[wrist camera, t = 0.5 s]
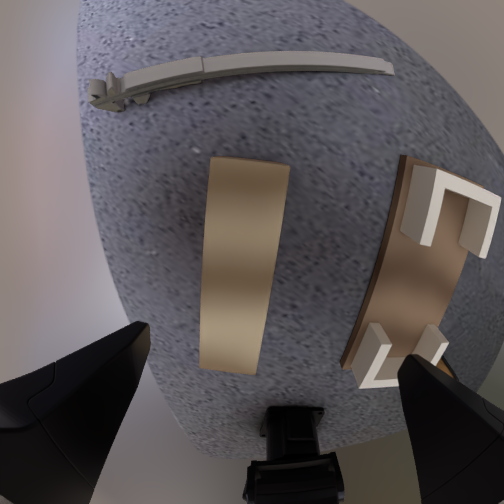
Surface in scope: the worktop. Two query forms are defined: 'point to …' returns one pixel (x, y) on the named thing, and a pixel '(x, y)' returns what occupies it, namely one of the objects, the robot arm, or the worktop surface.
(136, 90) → the caliper
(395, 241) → the walnut board
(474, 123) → the worktop surface
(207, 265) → the maple slat
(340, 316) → the worktop surface
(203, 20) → the worktop surface
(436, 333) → the end caps
